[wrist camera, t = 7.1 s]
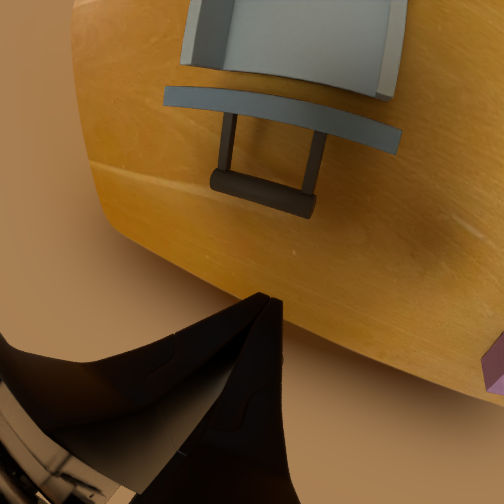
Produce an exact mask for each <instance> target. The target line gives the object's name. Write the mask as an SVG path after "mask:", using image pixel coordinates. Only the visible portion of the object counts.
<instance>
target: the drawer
mask: <svg viewBox="0 0 504 504" xmlns="http://www.w3.org/2000/svg"><path fill="white" fill-rule="evenodd" d="M407 6H408V0H191V1H190V6H189V11H188V16H187V21H186V27H185V33H184V39H183V45H182V52H181V59H180V65H187V66H194V67H201V68H208V69H214V70H222V71H236V72H247V73H257V74H265V75H273V76H280V77H286V78H292V79H298V80H303V81H308V82H313V83H318V84H323V85H327V86H332V87H336V88H340V89H344V90H348V91H351V92H355V93H359V94H362V95H365V96H369V97H372V98H375V99H378V100H382V101H385V102H388V101H390V100H391V99H392V98H393V97H394V93H395V88H396V83H397V77H398V72H399V66H400V60H401V54H402V48H403V41H404V33H405V25H406V16H407ZM163 106H174V107H185V108H195V109H204V110H212V111H220V112H224V117H223V125H222V133H221V141H220V150H219V158H218V167H217V168H216V169H215V170H214V171H213V173H212V175H211V178H210V188H211V189H212V190H214V191H218V192H221V193H225V194H228V195H232V196H235V197H238V198H242V199H245V200H248V201H252V202H255V203H258V204H261V205H265V206H268V207H271V208H274V209H277V210H281V211H284V212H287V213H290V214H293V215H296V216H299V217H302V218H305V219H310V218H311V216H312V213H313V210H314V207H315V204H316V199H317V196H316V195H315V194H313V193H314V190H315V186H316V181H317V177H318V173H319V169H320V165H321V160H322V156H323V152H324V147H325V143H326V139H327V134H331V135H334V136H338V137H341V138H345V139H348V140H351V141H354V142H358V143H361V144H364V145H367V146H370V147H373V148H376V149H379V150H381V151H384V152H387V153H390V154H393V155H396V153H397V149H398V146H399V142H400V138H401V134H402V130H400V129H398V128H396V127H394V126H391V125H388V124H385V123H382V122H379V121H376V120H373V119H370V118H367V117H364V116H361V115H357V114H354V113H350V112H347V111H343V110H339V109H336V108H332V107H328V106H324V105H320V104H315V103H311V102H307V101H302V100H297V99H292V98H287V97H281V96H276V95H270V94H263V93H257V92H249V91H242V90H233V89H223V88H212V87H193V86H165V91H164V102H163ZM238 114H240V115H246V116H252V117H257V118H263V119H268V120H273V121H278V122H282V123H287V124H291V125H296V126H300V127H304V128H308V129H312V130H314V135H313V140H312V144H311V149H310V153H309V158H308V163H307V167H306V172H305V176H304V181H303V185H302V189H301V190H299V189H296V188H292V187H289V186H286V185H282V184H279V183H275V182H272V181H268V180H265V179H261V178H257V177H254V176H250V175H246V174H243V173H239V172H235V171H231V170H229V169H230V168H231V160H232V152H233V145H234V137H235V130H236V123H237V116H238Z"/></svg>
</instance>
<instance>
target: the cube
mask: <svg viewBox="0 0 504 504" xmlns="http://www.w3.org/2000/svg"><path fill="white" fill-rule="evenodd" d="M481 363H482V369H483V374H484V380H485V387H486V392H490V393H495V394H499V395H504V332H503V333H502V335H501V336H500V337H499V338H498V340H497V341H496V342H495V343H494V345H493V346H492V347H491V348H490V349H489V351H488V352H487V353H486V354H485V355H484V356H483V358H482V359H481Z"/></svg>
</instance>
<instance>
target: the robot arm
mask: <svg viewBox="0 0 504 504" xmlns="http://www.w3.org/2000/svg"><path fill="white" fill-rule="evenodd" d="M282 344H283V301H282V300H280V299H277V298H274V297H271V298H270V296H269V295H266V294H264V293H261V292H258V293H255V294H253V295H252V296H250V297H248V298H246V299H244V300H242V301H240V302H238V303H236V304H234V305H232V306H230V307H228V308H226V309H223V310H221V311H219V312H217V313H215V314H213V315H211V316H209V317H207V318H205V319H203V320H201V321H199V322H197V323H195V324H193V325H190V326H188V327H186V328H184V329H182V330H180V331H178V332H176V333H175V335H174V334H171V335H169V336H167V337H165V338H163V339H160V340H158V341H155V342H153V343H151V344H148V345H145V346H142V347H140V348H137V349H134V350H131V351H128V352H124V353H122V354H118V355H115V356H112V357H108V358H105V359H101V360H98V361H93V362H84V363H79V362H71V361H65V360H60V359H55V358H50V357H45V356H41V355H36V354H32V353H27V352H24V351H21V350H18V349H16V348H14V347H12V346H11V345H9V344H8V343H7V341H6V340H5V338H4V337H3V336H2V334H1V333H0V504H47V503H46V502H45V501H44V500H43V499H41V498H40V497H39V496H37V495H36V493H37V492H38V491H39V492H40V493H41V494H42V495H43V496H44V497H45V498H46V499H47V500H48V501H49V502H50V503H51V504H106V503H107V501H108V500H109V499H110V498H111V497H112V495H113V494H114V493H115V492H116V490H117V489H118V488H119V487H120V485H122V486H124V487H126V488H128V489H130V490H132V491H134V492H136V494H135V496H134V497H133V498H132V500H131V501H130V502H129V504H301V503H300V501H299V499H298V496H297V494H296V492H295V489H294V487H293V484H292V481H291V477H290V473H289V468H288V462H287V455H286V446H285V438H284V429H283V420H282V403H281V401H282V400H281V399H282V384H281V382H282V350H283V345H282Z"/></svg>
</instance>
